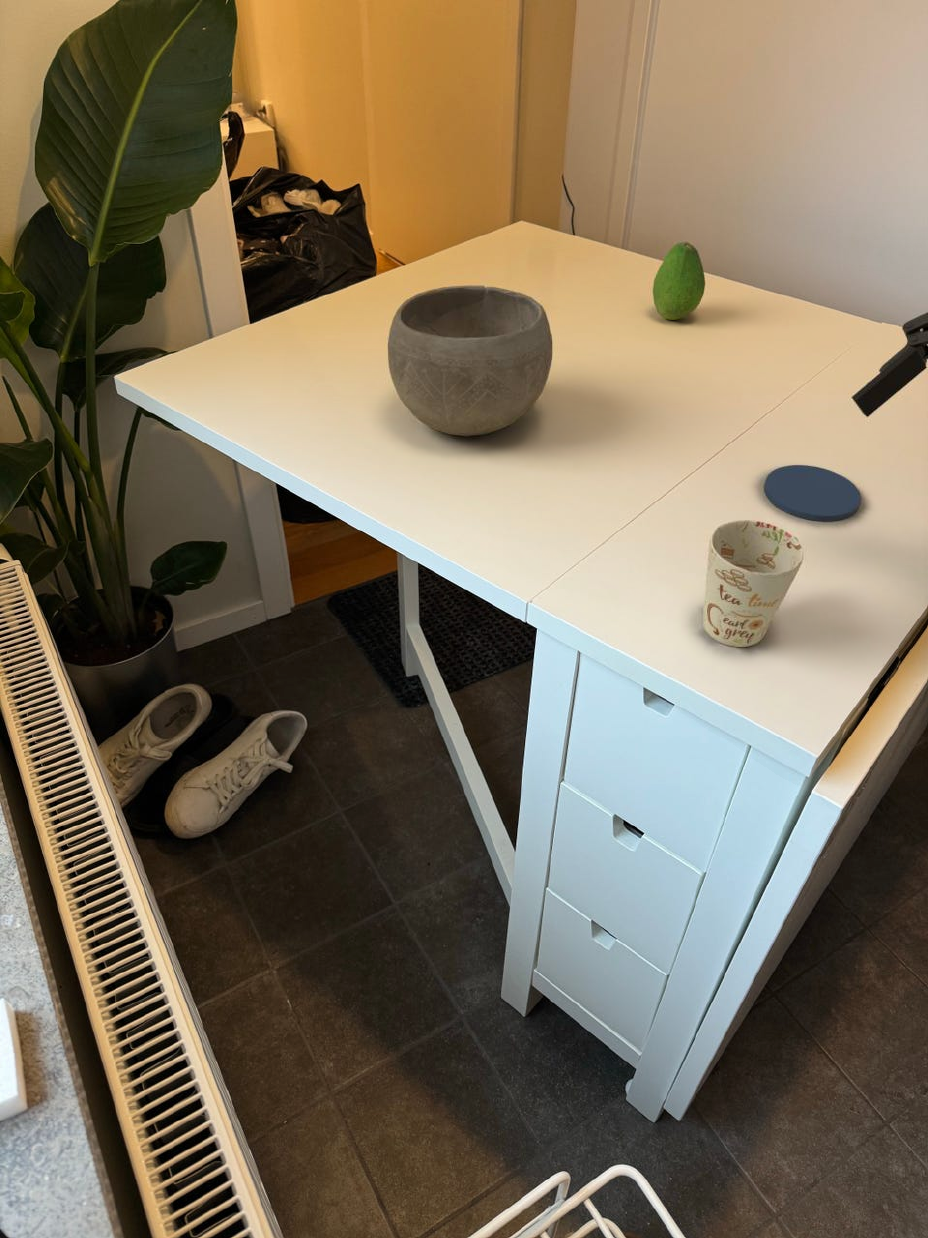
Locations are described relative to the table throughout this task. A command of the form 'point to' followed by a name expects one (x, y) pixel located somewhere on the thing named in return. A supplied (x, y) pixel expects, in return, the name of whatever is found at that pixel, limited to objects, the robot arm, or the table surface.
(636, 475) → the table surface
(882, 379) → the robot arm
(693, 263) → the fruit
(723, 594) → the mug
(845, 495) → the coaster
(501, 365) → the bowl
